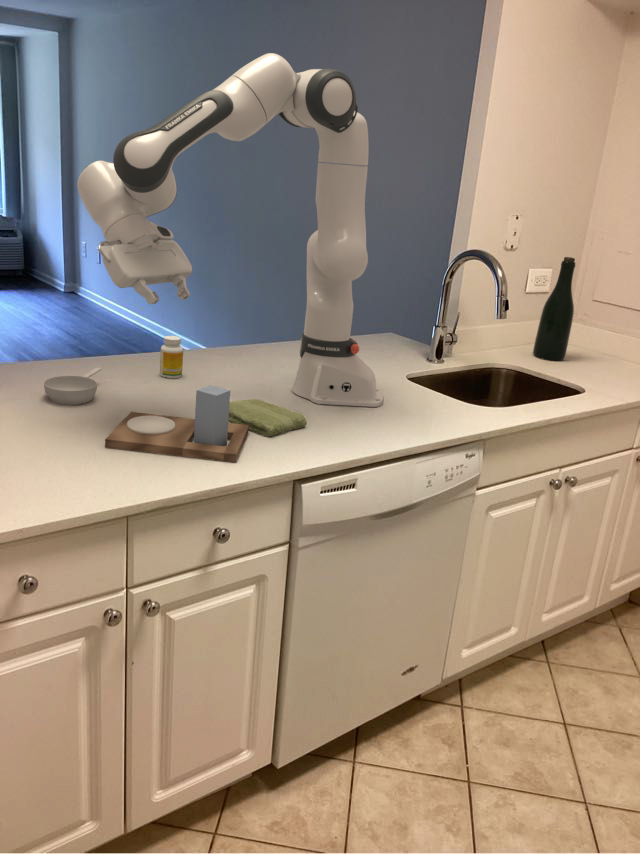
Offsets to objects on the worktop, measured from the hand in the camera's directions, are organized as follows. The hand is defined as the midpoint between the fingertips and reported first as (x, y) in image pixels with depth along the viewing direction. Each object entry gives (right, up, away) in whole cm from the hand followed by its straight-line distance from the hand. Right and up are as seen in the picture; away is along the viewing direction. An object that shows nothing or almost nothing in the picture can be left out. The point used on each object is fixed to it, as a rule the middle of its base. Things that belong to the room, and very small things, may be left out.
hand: (170, 300), depth 140 cm
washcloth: (+16, -24, +15) cm, 32 cm away
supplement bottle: (-8, -12, +39) cm, 41 cm away
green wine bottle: (+105, -1, +103) cm, 147 cm away
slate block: (+8, -28, -1) cm, 29 cm away
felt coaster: (-4, -24, 0) cm, 25 cm away
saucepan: (-24, -17, +19) cm, 35 cm away
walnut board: (+2, -27, 0) cm, 27 cm away
